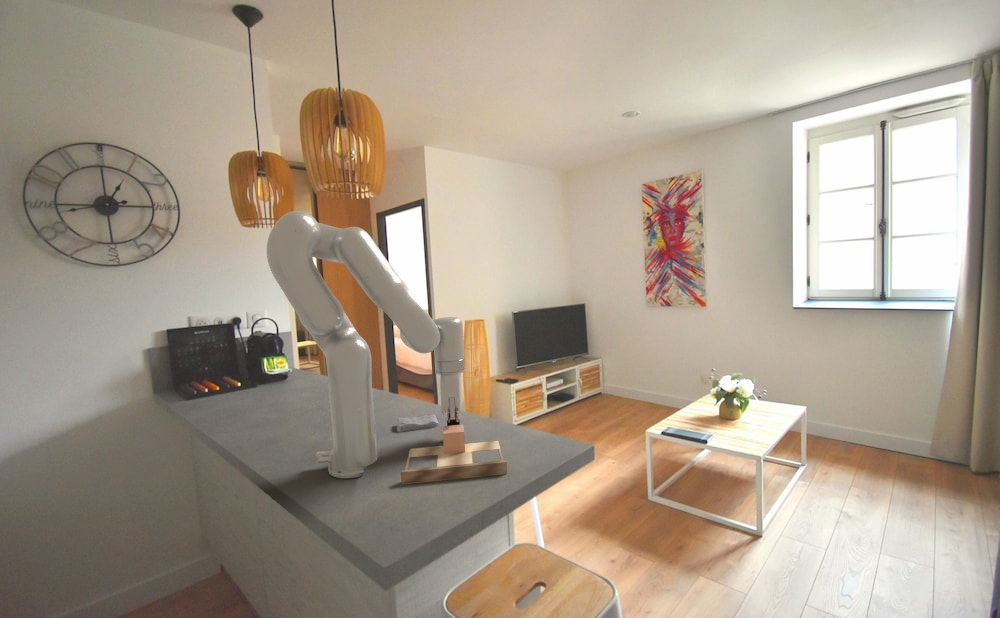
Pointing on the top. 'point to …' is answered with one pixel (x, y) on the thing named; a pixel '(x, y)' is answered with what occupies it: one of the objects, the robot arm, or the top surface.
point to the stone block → (417, 423)
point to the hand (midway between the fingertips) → (454, 435)
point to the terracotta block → (453, 439)
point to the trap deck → (453, 464)
